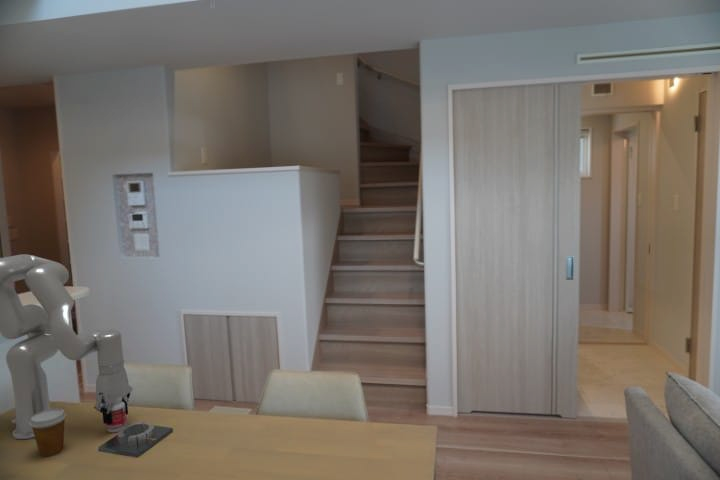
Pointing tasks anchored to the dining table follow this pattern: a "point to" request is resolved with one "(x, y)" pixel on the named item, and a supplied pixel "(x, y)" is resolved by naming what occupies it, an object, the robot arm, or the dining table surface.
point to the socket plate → (137, 448)
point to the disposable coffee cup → (49, 431)
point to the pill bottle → (117, 416)
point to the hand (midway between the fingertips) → (116, 418)
